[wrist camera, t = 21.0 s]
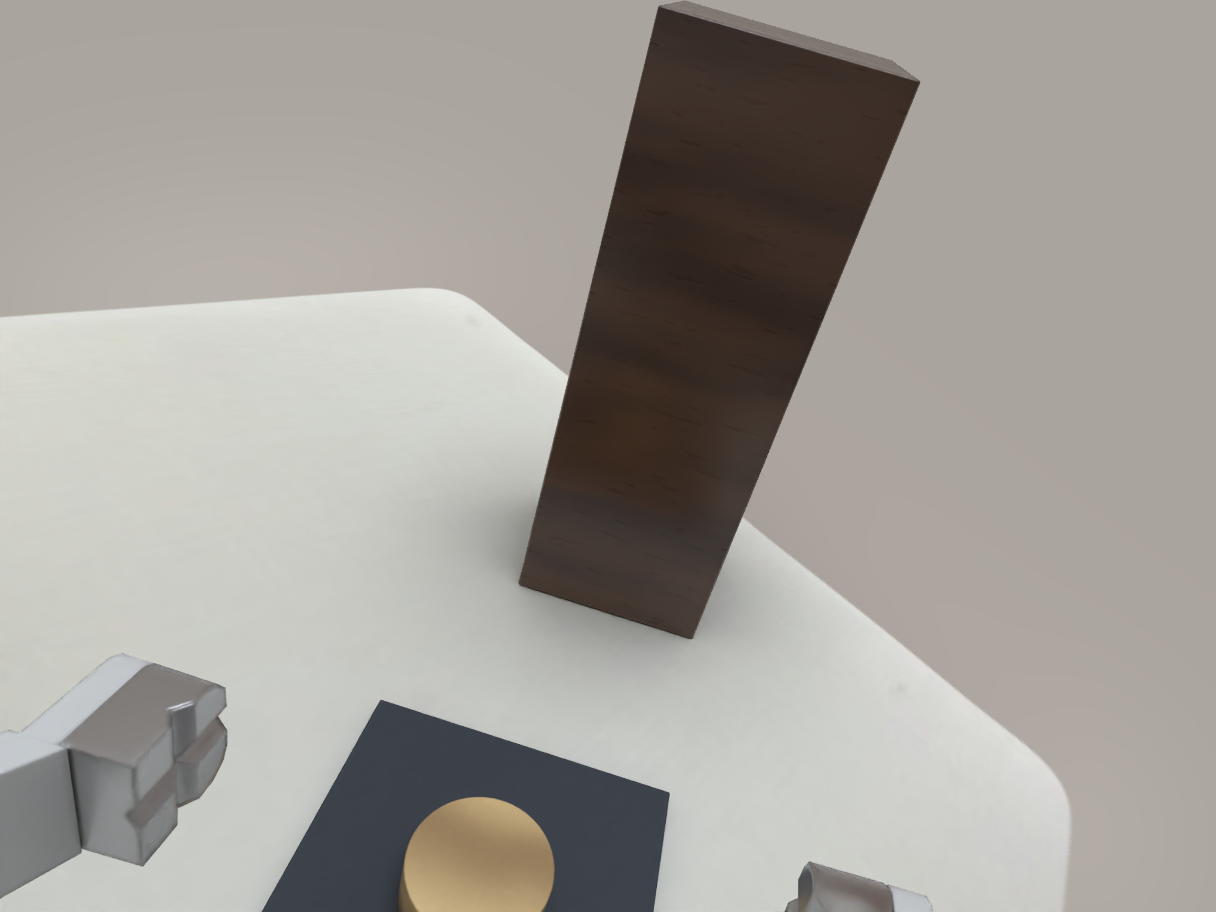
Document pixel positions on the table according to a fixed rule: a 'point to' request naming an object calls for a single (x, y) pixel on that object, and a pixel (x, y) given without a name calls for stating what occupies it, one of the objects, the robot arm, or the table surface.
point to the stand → (705, 302)
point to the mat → (463, 768)
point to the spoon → (477, 861)
